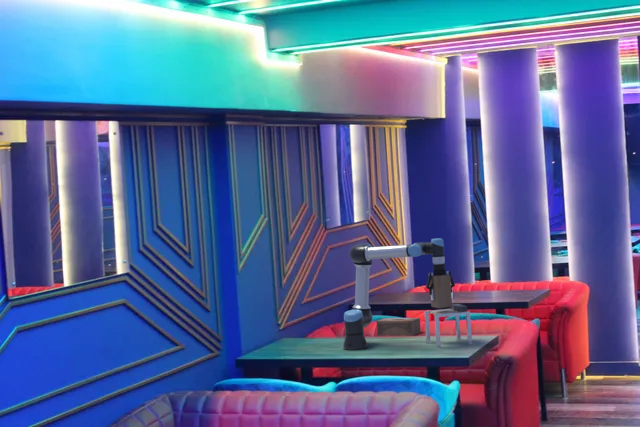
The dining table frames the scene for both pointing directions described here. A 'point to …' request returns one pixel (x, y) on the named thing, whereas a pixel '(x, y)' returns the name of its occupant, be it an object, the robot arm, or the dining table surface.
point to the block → (441, 291)
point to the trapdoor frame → (456, 326)
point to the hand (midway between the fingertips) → (441, 299)
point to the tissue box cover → (398, 327)
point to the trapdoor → (453, 309)
